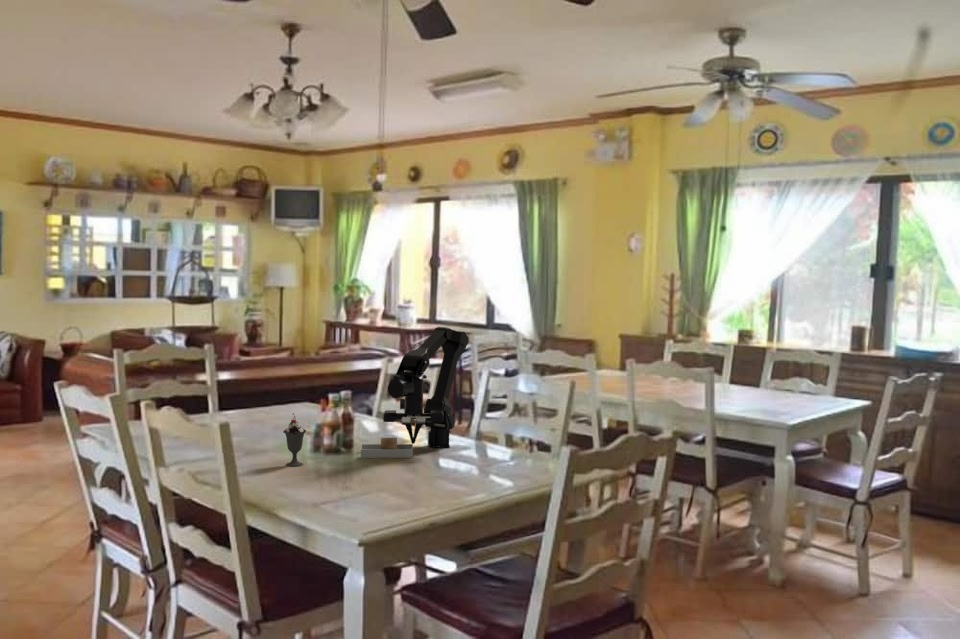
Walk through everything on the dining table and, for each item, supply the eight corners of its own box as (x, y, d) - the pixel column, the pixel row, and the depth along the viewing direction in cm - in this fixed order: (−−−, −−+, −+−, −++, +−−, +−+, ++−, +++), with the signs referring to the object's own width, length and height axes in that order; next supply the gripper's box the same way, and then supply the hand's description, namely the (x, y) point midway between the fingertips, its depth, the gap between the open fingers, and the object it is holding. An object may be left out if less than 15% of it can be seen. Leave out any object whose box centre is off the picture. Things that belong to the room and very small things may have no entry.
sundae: (293, 460, 254) (294, 411, 253) (310, 464, 250) (311, 413, 249) (278, 465, 248) (278, 414, 247) (295, 468, 245) (295, 417, 244)
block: (396, 453, 268) (397, 437, 267) (396, 456, 263) (397, 441, 262) (380, 453, 267) (381, 437, 267) (380, 456, 262) (380, 440, 262)
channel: (412, 451, 270) (412, 444, 270) (413, 457, 262) (413, 449, 261) (361, 451, 268) (362, 443, 268) (360, 457, 260) (360, 449, 260)
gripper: (442, 390, 273) (441, 438, 274) (384, 389, 272) (383, 438, 273) (444, 395, 262) (443, 445, 263) (383, 395, 261) (383, 445, 262)
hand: (413, 443), depth 266 cm, fingers closed
